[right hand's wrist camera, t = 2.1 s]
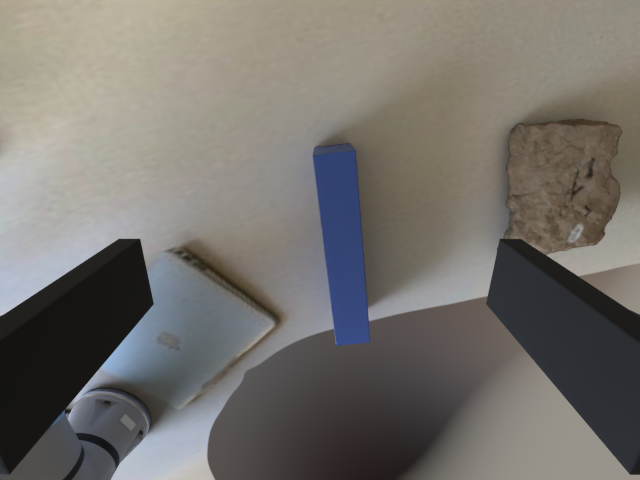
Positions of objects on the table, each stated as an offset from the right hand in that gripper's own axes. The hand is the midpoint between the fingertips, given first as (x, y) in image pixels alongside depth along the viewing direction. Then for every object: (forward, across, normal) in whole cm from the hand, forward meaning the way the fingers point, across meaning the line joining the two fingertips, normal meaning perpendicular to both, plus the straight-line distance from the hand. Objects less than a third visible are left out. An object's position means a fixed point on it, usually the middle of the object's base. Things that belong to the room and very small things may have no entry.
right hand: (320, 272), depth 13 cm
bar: (+41, +4, -14) cm, 43 cm away
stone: (+41, +35, -6) cm, 54 cm away
